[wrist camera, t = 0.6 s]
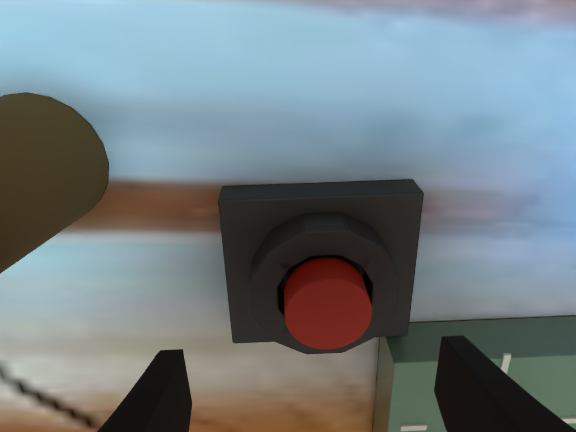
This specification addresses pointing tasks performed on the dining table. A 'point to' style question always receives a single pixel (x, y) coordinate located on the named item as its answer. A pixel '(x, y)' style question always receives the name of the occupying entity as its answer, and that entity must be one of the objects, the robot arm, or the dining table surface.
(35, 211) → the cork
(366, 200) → the button housing
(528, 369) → the panel
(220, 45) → the dining table surface
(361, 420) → the dining table surface
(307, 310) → the button
